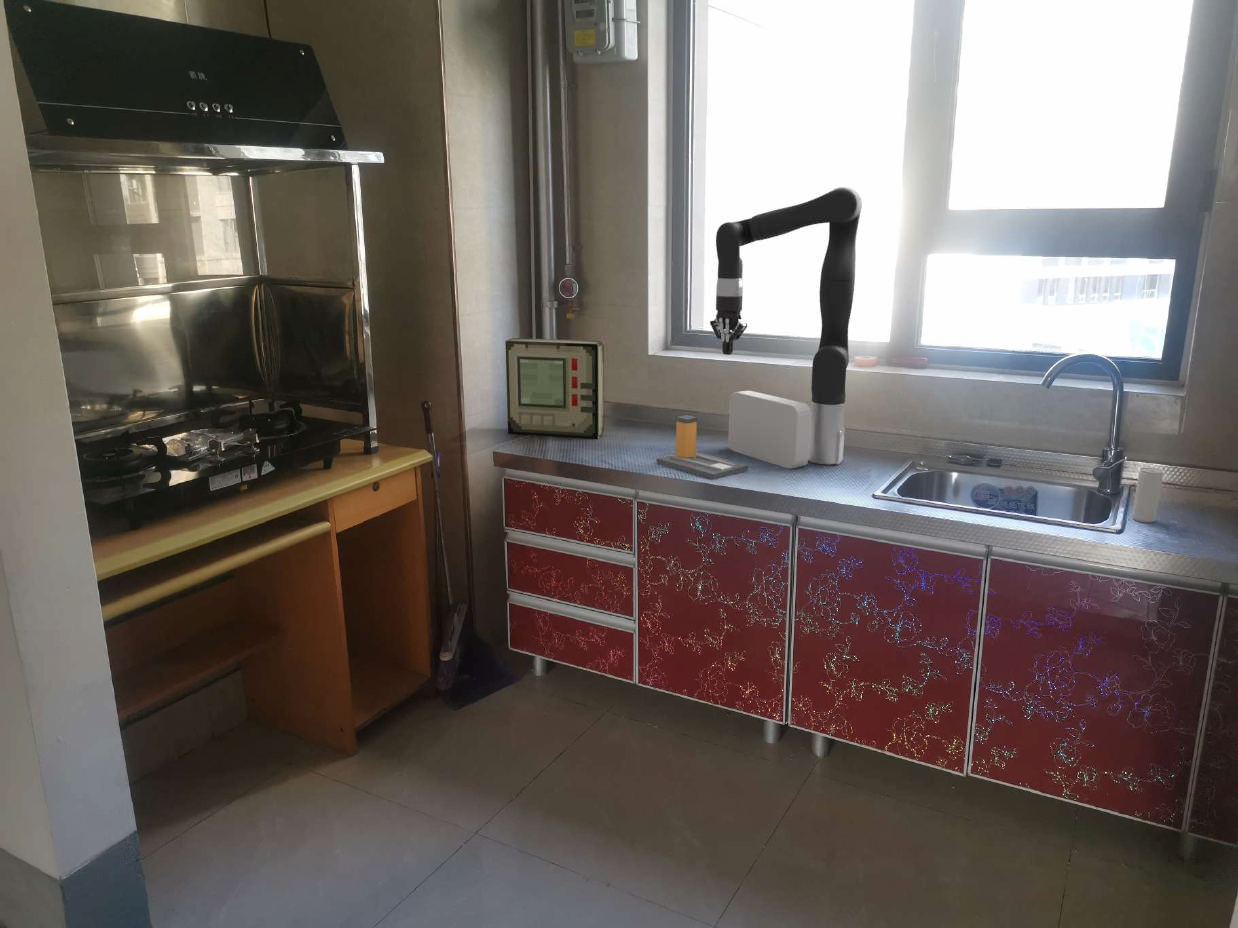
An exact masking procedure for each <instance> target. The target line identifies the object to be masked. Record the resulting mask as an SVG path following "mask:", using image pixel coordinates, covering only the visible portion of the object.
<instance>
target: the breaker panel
mask: <svg viewBox="0 0 1238 928" xmlns="http://www.w3.org/2000/svg"><path fill="white" fill-rule="evenodd" d="M657 463H659V464H658V465H660V464H661V466H664V465H665V466H664V467H668V468H671V467H672V468H671V469H675V470H679V471H682V472H685V473H689V474H692V475H696V476H699V477H703V478H706V479H709V480H717V479H722V478H724V477H729V476H732V475H736V474H740V473H745V472H748V471H749V465H748V464H744V463H742V462H738V461H733V460H729V459H725V458H722V457H718V456H714V455H711V454H707V453H703V452H699V451H696V456H693V457H689V458H683V457H679V456H676V453H675V454H669V455H665V456H660V457H656V464H657Z"/></svg>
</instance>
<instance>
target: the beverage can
mask: <svg viewBox="0 0 1238 928" xmlns="http://www.w3.org/2000/svg"><path fill="white" fill-rule="evenodd" d="M1163 473H1164V471H1163V469H1159V468H1155V467H1140V468H1139V471H1138V476H1137V480H1136V481H1137V482H1136V489H1135V495H1134V500H1133V501H1134V502H1133V508H1132V515H1131V517H1132V519H1133V520H1134V521H1137V522H1141V523H1145V524H1146V523H1148V524H1151V523H1153V522H1155V520H1156V518H1157V511H1158V507H1159V501H1160V495H1161V492H1162V491H1161V490H1162V484H1163V477H1164V474H1163Z"/></svg>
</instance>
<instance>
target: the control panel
mask: <svg viewBox="0 0 1238 928" xmlns="http://www.w3.org/2000/svg"><path fill="white" fill-rule="evenodd" d="M505 368H506V369H505V370H506V371H505V372H506V375H505V376H506V378H505V379H506V403H507V404H506V405H507V407H506V408H507V435H516V436H517V435H520V436H534V437H535V436H537V437H552V438H569V439H571V438H572V439H583V440H599V439H600V438H601V437H603V436H604V435H605V341H604V340H586V339H585V340H583V339H582V340H581V339H556V338H555V339H550V338H527V337H526V338H525V337H522V338H521V337H512V338H510V339H507V340H505Z"/></svg>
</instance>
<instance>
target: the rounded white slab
mask: <svg viewBox="0 0 1238 928" xmlns="http://www.w3.org/2000/svg"><path fill="white" fill-rule="evenodd" d="M728 406H729V408H728V409H729V412H728V413H729V415H728V438H727V441H728V447H729V449H730V450H731V451H733V452H735V453H737V454H740V455H744V456H747V457H751V458H753V459H757V460H760V461H763V462H766V463H770V464H772V465H776V466H779V467H782V468H785V469H789V470H790V469H797V468H801V467H805V466H807V465H808V462H809V446H810V429H811V406H810V405H808V404H807V403H805V402H802V401H797V400H791V399H788V398H783V397H780V396H775V395H771V394H766V393H762V392H758V391H753V390H743V391H735V392H732V393H731V394H730V396H729V405H728Z"/></svg>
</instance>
